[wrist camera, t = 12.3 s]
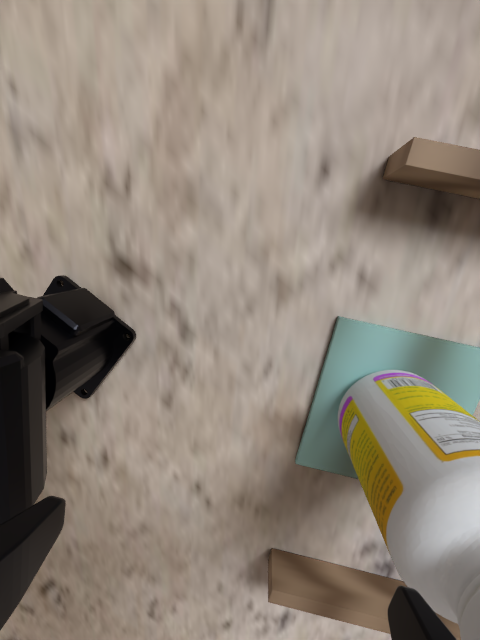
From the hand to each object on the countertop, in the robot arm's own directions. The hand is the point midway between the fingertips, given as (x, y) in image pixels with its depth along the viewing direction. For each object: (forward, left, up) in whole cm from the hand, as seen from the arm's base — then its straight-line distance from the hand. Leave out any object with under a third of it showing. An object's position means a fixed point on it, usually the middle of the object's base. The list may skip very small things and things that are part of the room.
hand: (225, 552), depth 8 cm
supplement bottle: (+4, -9, -13) cm, 16 cm away
